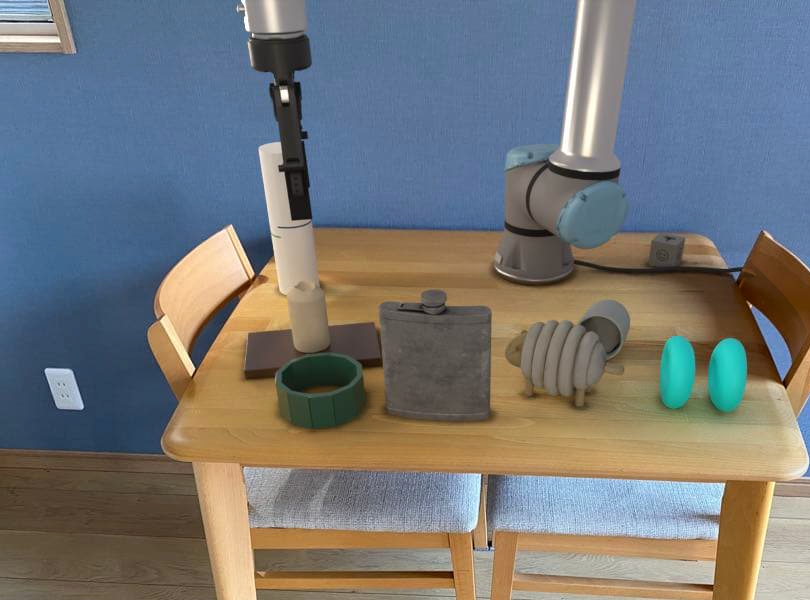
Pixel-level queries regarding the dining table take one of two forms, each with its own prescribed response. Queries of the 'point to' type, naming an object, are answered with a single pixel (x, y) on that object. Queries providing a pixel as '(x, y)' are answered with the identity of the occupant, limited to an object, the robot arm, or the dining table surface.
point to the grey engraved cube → (666, 250)
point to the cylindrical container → (286, 226)
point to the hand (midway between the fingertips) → (301, 202)
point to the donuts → (722, 374)
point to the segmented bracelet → (320, 406)
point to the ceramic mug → (608, 324)
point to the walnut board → (278, 348)
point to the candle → (308, 317)
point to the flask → (436, 359)
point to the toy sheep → (560, 359)
